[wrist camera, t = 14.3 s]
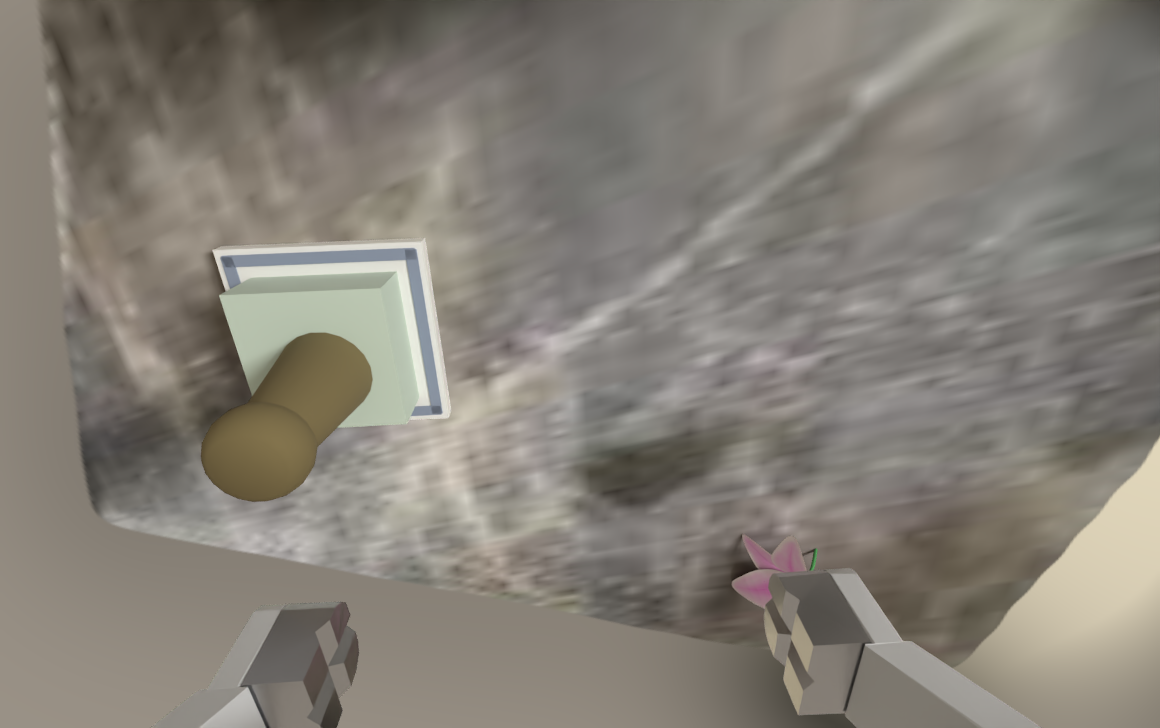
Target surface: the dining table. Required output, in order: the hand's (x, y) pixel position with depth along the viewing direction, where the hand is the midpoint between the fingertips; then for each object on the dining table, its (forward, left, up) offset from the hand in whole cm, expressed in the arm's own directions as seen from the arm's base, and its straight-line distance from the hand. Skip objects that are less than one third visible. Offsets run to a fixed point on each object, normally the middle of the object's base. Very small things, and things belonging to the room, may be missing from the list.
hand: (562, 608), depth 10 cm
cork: (+7, -16, -26) cm, 31 cm away
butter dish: (+6, -16, -31) cm, 35 cm away
